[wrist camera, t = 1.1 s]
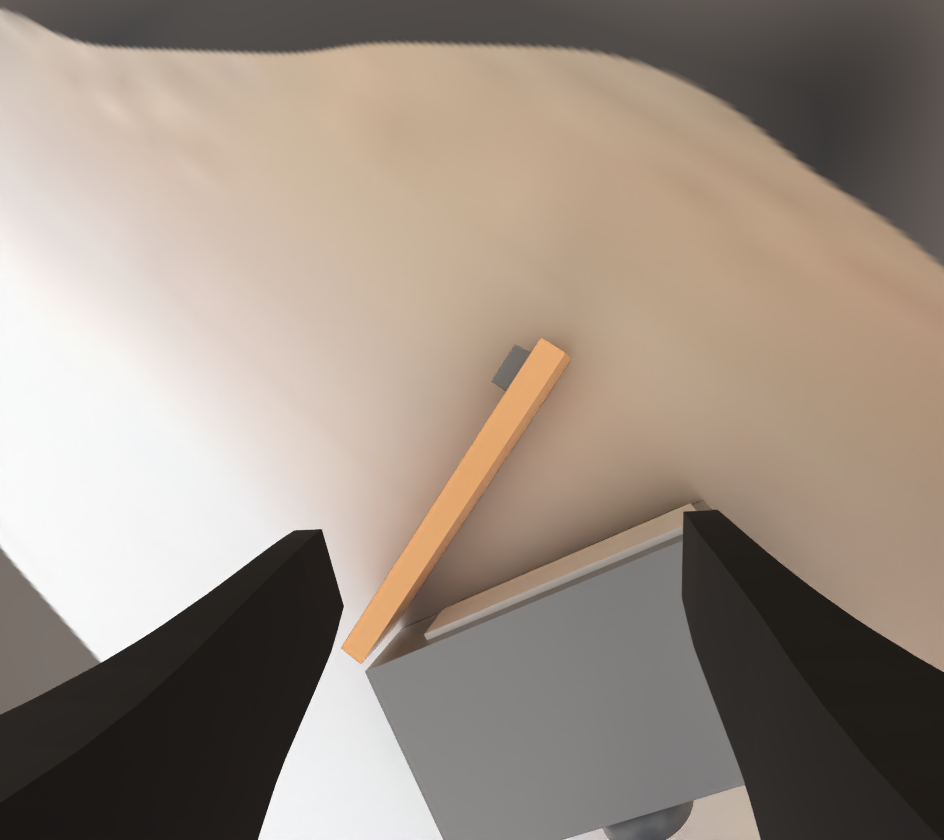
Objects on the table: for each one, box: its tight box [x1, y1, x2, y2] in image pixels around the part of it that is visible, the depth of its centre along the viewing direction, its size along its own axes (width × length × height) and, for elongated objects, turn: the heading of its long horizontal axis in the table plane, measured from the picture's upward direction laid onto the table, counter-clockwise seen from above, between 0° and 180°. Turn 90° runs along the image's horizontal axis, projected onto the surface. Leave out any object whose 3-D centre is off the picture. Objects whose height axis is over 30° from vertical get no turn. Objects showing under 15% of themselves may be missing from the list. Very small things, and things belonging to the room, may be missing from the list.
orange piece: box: [341, 338, 571, 664], centre depth 22 cm, size 2×14×4 cm, turn 147°
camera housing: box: [365, 500, 745, 840], centre depth 21 cm, size 9×14×4 cm
